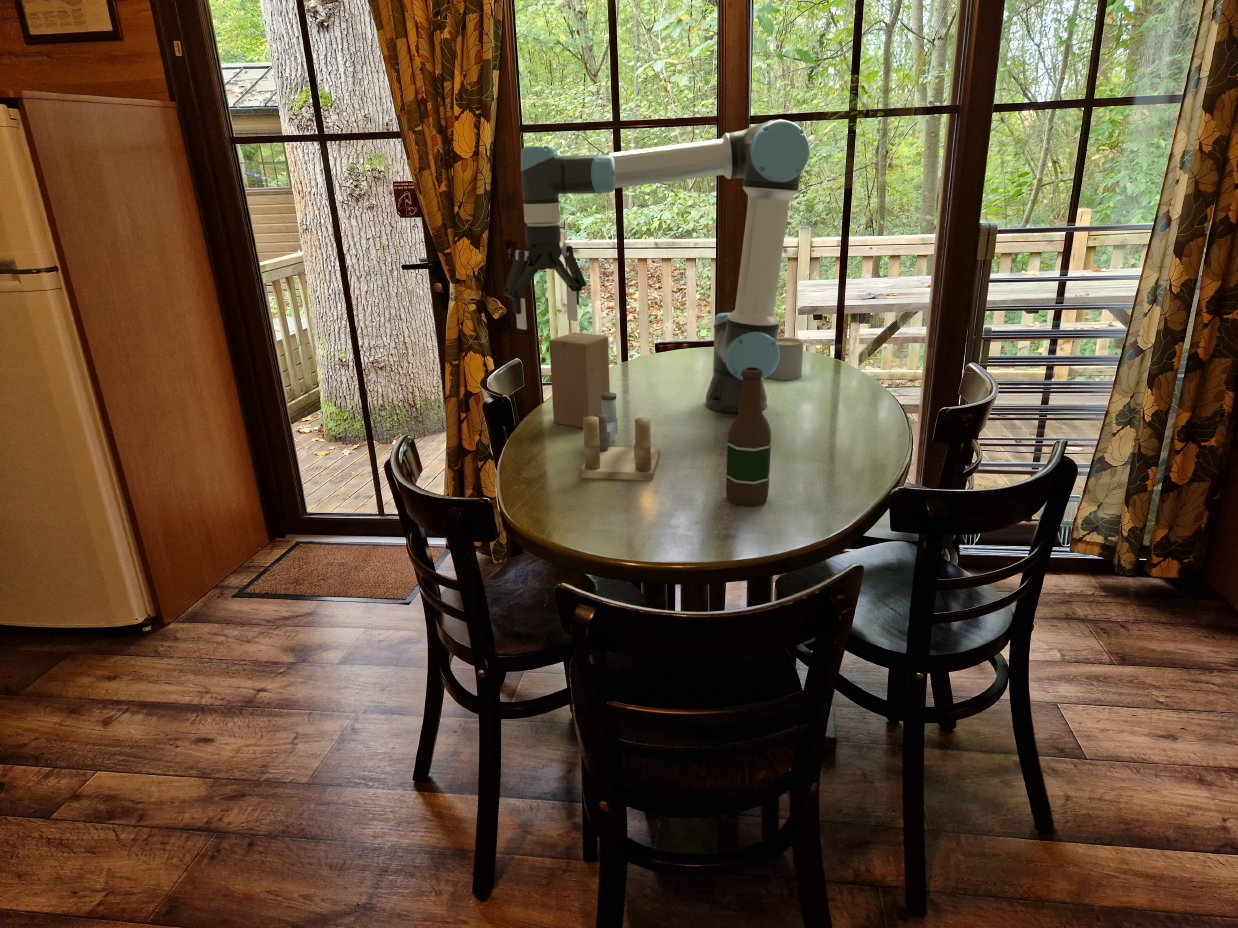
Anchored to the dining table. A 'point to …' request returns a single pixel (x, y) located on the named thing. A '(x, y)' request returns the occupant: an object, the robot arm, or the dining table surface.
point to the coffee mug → (789, 359)
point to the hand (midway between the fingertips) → (547, 324)
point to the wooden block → (578, 376)
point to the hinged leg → (610, 414)
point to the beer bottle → (749, 446)
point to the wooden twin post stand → (618, 452)
